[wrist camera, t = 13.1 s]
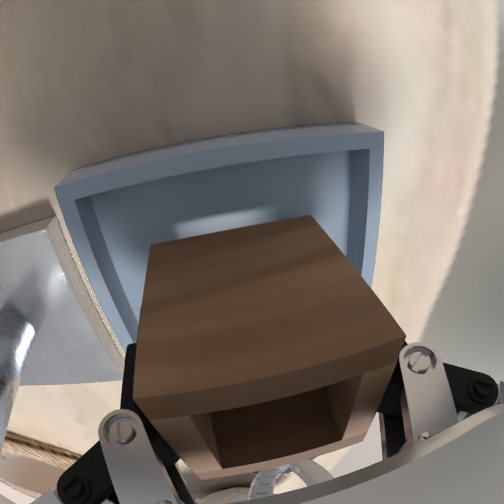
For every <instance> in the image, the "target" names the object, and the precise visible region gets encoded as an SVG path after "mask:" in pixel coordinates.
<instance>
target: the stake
mask: <svg viewBox="0 0 504 504" xmlns="http://www.w3.org/2000/svg"><path fill="white" fill-rule="evenodd" d="M124 364H125V362H124V360H123V358H122V356H121V355H120V353H119V351H118V350H117V348H116V346H115V344H114V342H113V341H112V339H111V337H110V335H109V333H108V332H107V330H106V328H105V326H104V324H103V322H102V320H101V318H100V316H99V314H98V312H97V310H96V308H95V306H94V304H93V302H92V300H91V298H90V296H89V294H88V292H87V290H86V288H85V286H84V283H83V281H82V279H81V277H80V275H79V272H78V270H77V268H76V266H75V263H74V261H73V259H72V256H71V254H70V251H69V249H68V246H67V244H66V241H65V239H64V236H63V234H62V231H61V228H60V226H59V223H58V220H57V217H56V216H54V217H50V218H47V219H43V220H40V221H37V222H34V223H30V224H27V225H24V226H21V227H18V228H15V229H11V230H8V231H5V232H2V233H0V452H2V448H3V443H4V438H5V434H6V430H7V426H8V422H9V418H10V414H11V411H12V407H13V404H14V400H15V397H16V393H17V390H18V387H19V385H58V384H78V383H93V382H106V381H117V380H123V373H124Z"/></svg>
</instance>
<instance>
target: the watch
mask: <svg viewBox="0 0 504 504" xmlns="http://www.w3.org/2000/svg"><path fill="white" fill-rule="evenodd" d="M314 458H316V457H313V458H310V459H306V460H303V461H299V462H295V463H291V464H287V465H283V466H279V467H275V468H270V469H266V470H261V471H256V472H255V473H257V474H256V476H255V478H254V479H253V481H252V483H251V486H252V487H250V489H249V493H248V499H247V500H251V499H257V498H262V497H267V496H272V495H273V489H274V488H273V487H274V486H275V483H276V481H277V479H278V478H279V476H280V475H281V474H282V473H289V472H291V471H293V472H294V473H295V474H297V475H298V476H299V477H300V478H301V479H302V480H303V481H304V482H305V484H306V485H307V486H312V485H315V484H318V483H322V482H325V481H328V480H331V479H334V478H333V476H332V475H331V474H330V473H329V472H328V471H327V470H326V469H324V468H323V467H322V466H320V465H319V464H318V463H316V462H314V461H313V460H312V459H314Z"/></svg>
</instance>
